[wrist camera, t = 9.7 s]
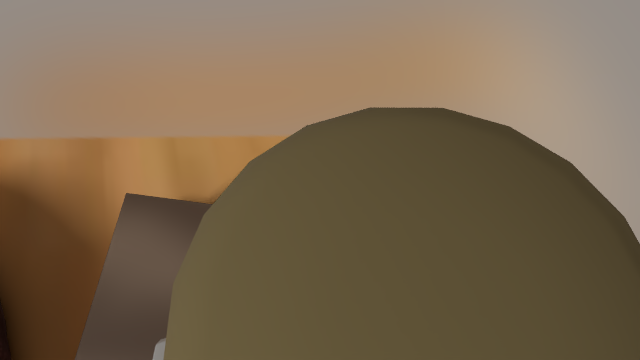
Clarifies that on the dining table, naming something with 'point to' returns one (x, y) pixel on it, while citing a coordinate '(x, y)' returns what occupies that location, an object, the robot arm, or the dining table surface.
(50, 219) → the dining table surface
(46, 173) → the dining table surface
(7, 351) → the bread
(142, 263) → the ridge stand
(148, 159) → the dining table surface
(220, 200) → the olive pawn
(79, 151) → the dining table surface
